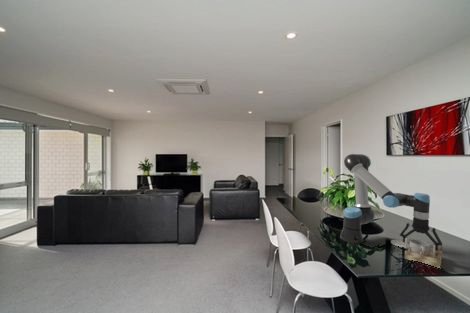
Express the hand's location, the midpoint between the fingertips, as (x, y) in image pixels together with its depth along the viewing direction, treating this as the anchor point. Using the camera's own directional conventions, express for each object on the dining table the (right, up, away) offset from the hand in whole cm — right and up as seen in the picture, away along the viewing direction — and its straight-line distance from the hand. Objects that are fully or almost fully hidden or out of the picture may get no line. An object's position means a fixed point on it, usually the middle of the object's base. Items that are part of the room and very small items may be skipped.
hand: (419, 251), depth 135 cm
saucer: (+3, -4, +19) cm, 20 cm away
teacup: (0, -3, 0) cm, 3 cm away
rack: (+1, -4, -1) cm, 4 cm away
